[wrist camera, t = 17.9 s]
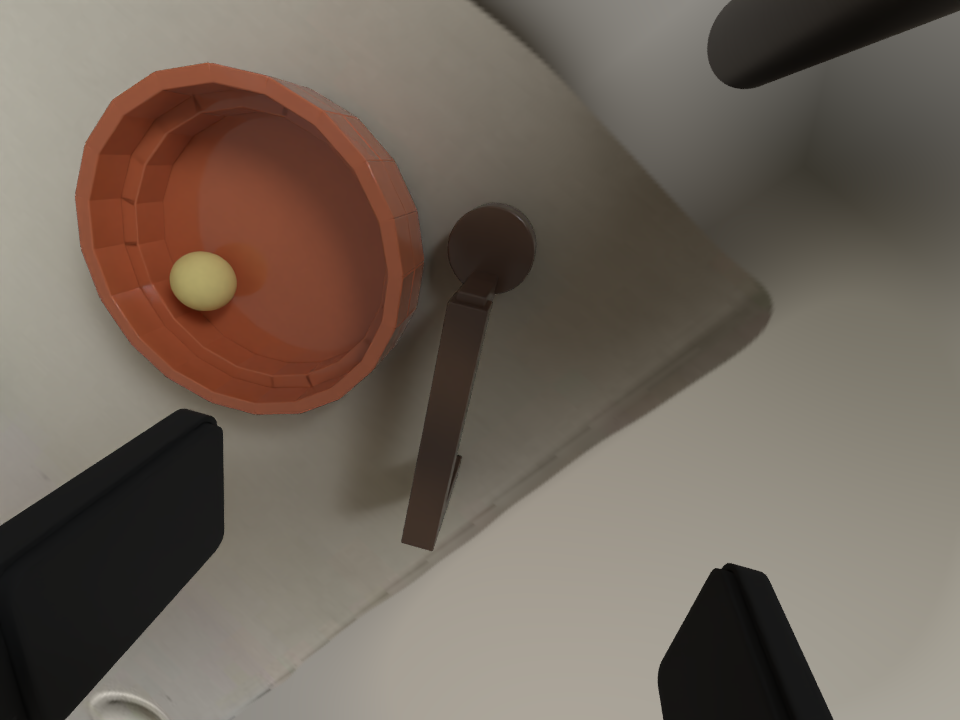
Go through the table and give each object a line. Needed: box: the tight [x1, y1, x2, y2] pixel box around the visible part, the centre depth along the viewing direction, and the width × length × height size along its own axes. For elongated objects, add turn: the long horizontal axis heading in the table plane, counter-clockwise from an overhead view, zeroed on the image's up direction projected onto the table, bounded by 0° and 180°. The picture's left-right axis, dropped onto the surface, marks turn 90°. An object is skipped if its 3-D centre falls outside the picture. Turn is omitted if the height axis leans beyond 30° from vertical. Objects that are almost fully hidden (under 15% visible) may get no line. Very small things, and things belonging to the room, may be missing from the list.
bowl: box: [75, 63, 424, 415], centre depth 24 cm, size 15×15×4 cm
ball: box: [170, 251, 237, 311], centre depth 25 cm, size 3×3×3 cm
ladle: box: [401, 203, 536, 551], centre depth 24 cm, size 16×4×6 cm, turn 168°
